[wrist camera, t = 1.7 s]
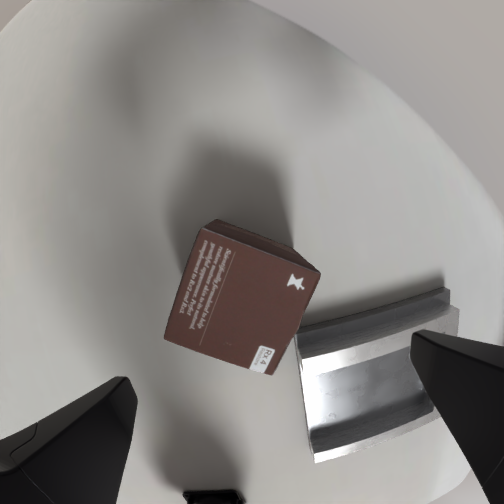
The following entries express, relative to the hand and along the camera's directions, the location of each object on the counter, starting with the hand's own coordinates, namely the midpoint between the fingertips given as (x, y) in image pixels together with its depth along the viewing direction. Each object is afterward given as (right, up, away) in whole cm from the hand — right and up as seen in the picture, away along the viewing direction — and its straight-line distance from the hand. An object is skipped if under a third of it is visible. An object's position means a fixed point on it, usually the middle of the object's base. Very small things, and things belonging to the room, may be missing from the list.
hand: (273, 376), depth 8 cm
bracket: (+11, -8, +14) cm, 19 cm away
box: (-1, +2, +13) cm, 13 cm away
